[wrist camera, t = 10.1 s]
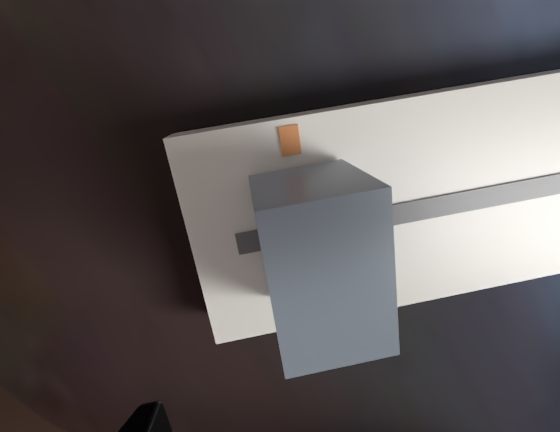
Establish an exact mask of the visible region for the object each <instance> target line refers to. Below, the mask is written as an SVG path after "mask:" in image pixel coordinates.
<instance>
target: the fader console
mask: <svg viewBox="0 0 560 432" xmlns="http://www.w3.org/2000/svg"><path fill="white" fill-rule="evenodd" d="M163 142H164V146H165V149H166V153H167V157H168V161H169V165H170V169H171V173H172V176H173V180H174V184H175V188H176V192H177V196H178V199H179V203H180V207H181V211H182V215H183V219H184V223H185V226H186V230H187V234H188V238H189V242H190V246H191V249H192V253H193V257H194V261H195V265H196V269H197V273H198V276H199V280H200V284H201V288H202V292H203V296H204V299H205V303H206V307H207V311H208V315H209V319H210V323H211V326H212V330H213V334H214V338H215V342H216V344H220V343H225V342H230V341H234V340H239V339H244V338H249V337H254V336H259V335H263V334H268V333H273V332H276V326H275V321H274V316H273V310H272V305H271V300H270V294H269V289H268V284H267V278H266V273H265V268H264V262H263V257H262V252H261V246H260V241H259V236H258V230H257V225H256V220H255V214H254V209H253V203H252V196H251V190H250V184H249V178H248V176H249V175H254V174H260V173H266V172H271V171H277V170H283V169H288V168H294V167H300V166H305V165H311V164H317V163H322V162H328V161H334V160H339V159H343V160H344V161H346V162H348V163H350V164H352V165H353V166H355V167H357V168H359V169H361V170H362V171H364V172H366V173H368V174H370V175H371V176H373V177H375V178H377V179H379V180H380V181H382V182H384V183H386V184H388V185H389V186H391V187H392V206H393V227H394V247H395V268H396V289H397V307H399V306H404V305H409V304H414V303H418V302H423V301H428V300H433V299H438V298H443V297H448V296H452V295H457V294H462V293H467V292H472V291H477V290H481V289H486V288H491V287H496V286H501V285H506V284H510V283H515V282H520V281H525V280H530V279H535V278H540V277H544V276H549V275H554V274H559V273H560V69H557V70H551V71H545V72H539V73H533V74H527V75H521V76H515V77H509V78H503V79H497V80H491V81H485V82H479V83H473V84H466V85H460V86H454V87H448V88H442V89H436V90H430V91H424V92H418V93H412V94H406V95H400V96H394V97H388V98H382V99H376V100H370V101H364V102H358V103H352V104H346V105H340V106H334V107H328V108H322V109H316V110H310V111H304V112H298V113H292V114H286V115H280V116H274V117H268V118H262V119H256V120H250V121H244V122H238V123H232V124H226V125H220V126H214V127H208V128H202V129H196V130H190V131H184V132H178V133H173V134H171V135H169V136H167V137H165V138H163Z"/></svg>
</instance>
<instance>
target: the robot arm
mask: <svg viewBox="0 0 560 432" xmlns="http://www.w3.org/2000/svg"><path fill="white" fill-rule="evenodd" d="M118 432H172V429H171V426H170V423H169V420H168V417H167V414H166V411H165V409H164V406H163V404H162V403H161V402H160V401H154V402H150V403H145V404H142V405H140V406H139V407H138V408H137V409H136V410H135V411H134V413H133V414H132V415H131V416H130V418H129V419H128V420H127V421H126V422H125V424H124V425H123V426H122V427H121V429H120V430H119V431H118Z"/></svg>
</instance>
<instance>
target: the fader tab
mask: <svg viewBox="0 0 560 432" xmlns="http://www.w3.org/2000/svg"><path fill="white" fill-rule="evenodd" d="M248 178H249V184H250V190H251V196H252V203H253V209H254V214H255V220H256V225H257V230H258V236H259V241H260V246H261V252H262V257H263V262H264V268H265V273H266V278H267V284H268V289H269V294H270V300H271V305H272V310H273V316H274V321H275V326H276V332H277V337H278V342H279V348H280V353H281V358H282V364H283V369H284V374H285V379H289V378H293V377H298V376H303V375H307V374H312V373H317V372H321V371H326V370H331V369H335V368H340V367H344V366H349V365H354V364H358V363H363V362H368V361H372V360H377V359H382V358H386V357H391V356H395V355H400V351H399V330H398V309H397V289H396V268H395V247H394V227H393V206H392V187H391V186H389V185H388V184H386V183H384V182H382V181H380V180H379V179H377V178H375V177H373V176H371V175H370V174H368V173H366V172H364V171H362V170H361V169H359V168H357V167H355V166H353V165H352V164H350V163H348V162H346V161H344V160H343V159H339V160H334V161H328V162H322V163H317V164H311V165H305V166H300V167H294V168H288V169H283V170H277V171H271V172H266V173H260V174H254V175H249V176H248Z"/></svg>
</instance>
